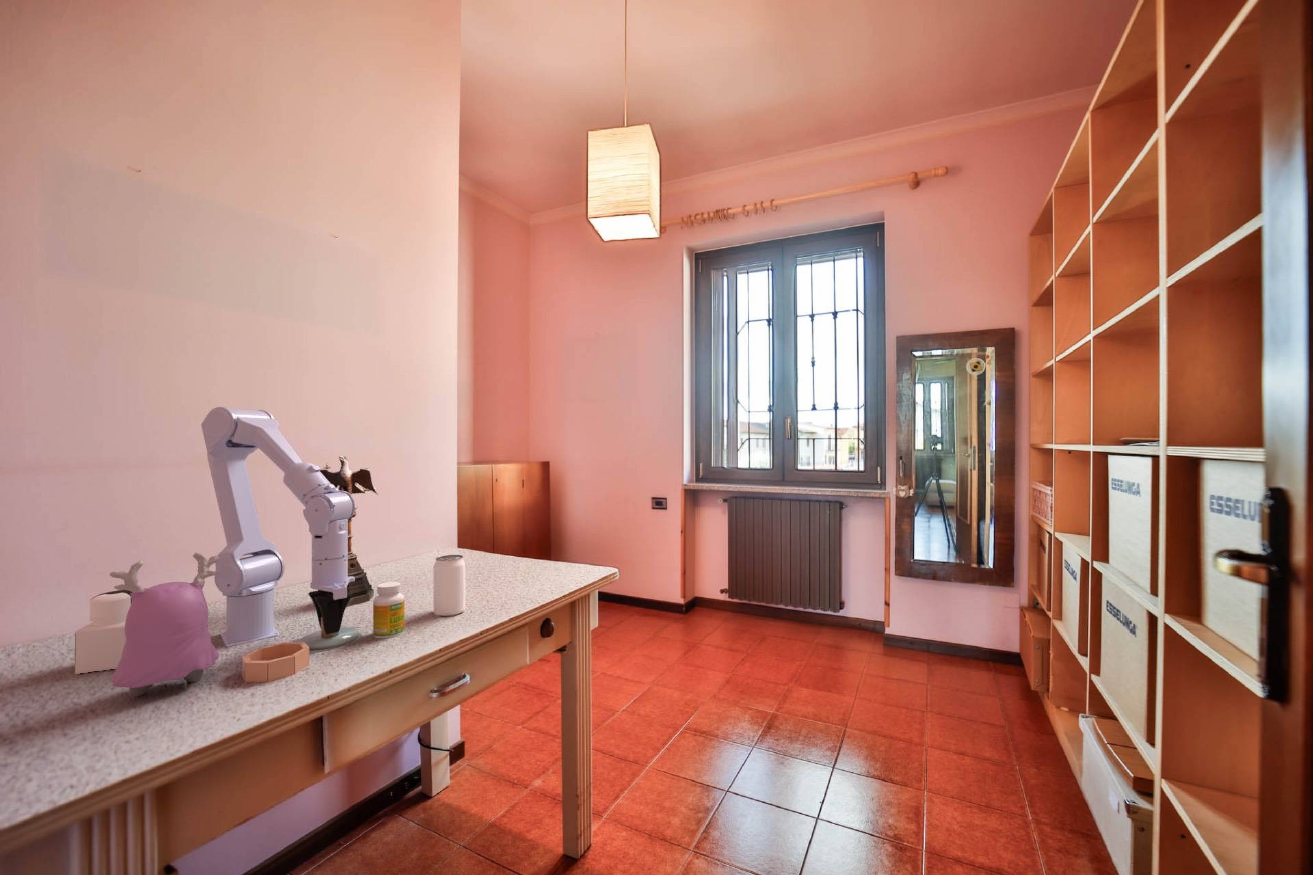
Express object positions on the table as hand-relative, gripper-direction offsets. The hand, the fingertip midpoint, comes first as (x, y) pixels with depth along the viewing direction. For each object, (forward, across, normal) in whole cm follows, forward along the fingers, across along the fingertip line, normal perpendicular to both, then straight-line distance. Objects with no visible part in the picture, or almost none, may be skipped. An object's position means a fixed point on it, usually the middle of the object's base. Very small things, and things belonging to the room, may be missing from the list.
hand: (329, 630), depth 97 cm
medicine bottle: (+2, +16, +28) cm, 32 cm away
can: (+2, +1, -23) cm, 23 cm away
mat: (+2, 0, 0) cm, 2 cm away
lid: (+2, 0, 0) cm, 2 cm away
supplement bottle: (+2, -4, -9) cm, 10 cm away
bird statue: (+2, +31, -10) cm, 33 cm away
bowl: (+2, -8, +10) cm, 13 cm away
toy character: (+2, -3, +22) cm, 23 cm away
